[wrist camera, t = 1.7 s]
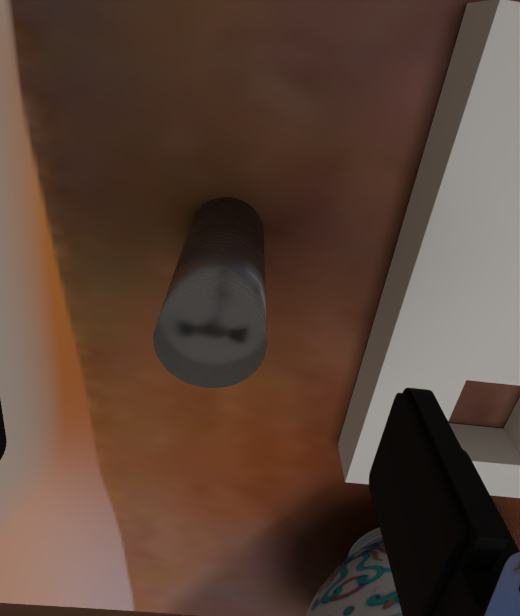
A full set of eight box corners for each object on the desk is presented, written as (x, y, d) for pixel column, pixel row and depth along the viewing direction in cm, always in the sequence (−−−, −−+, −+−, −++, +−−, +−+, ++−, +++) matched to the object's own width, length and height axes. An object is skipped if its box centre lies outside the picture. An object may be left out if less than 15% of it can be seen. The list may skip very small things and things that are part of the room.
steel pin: (192, 193, 19) (155, 287, 12) (268, 202, 19) (274, 301, 12) (187, 262, 20) (152, 382, 14) (258, 270, 21) (258, 392, 14)
